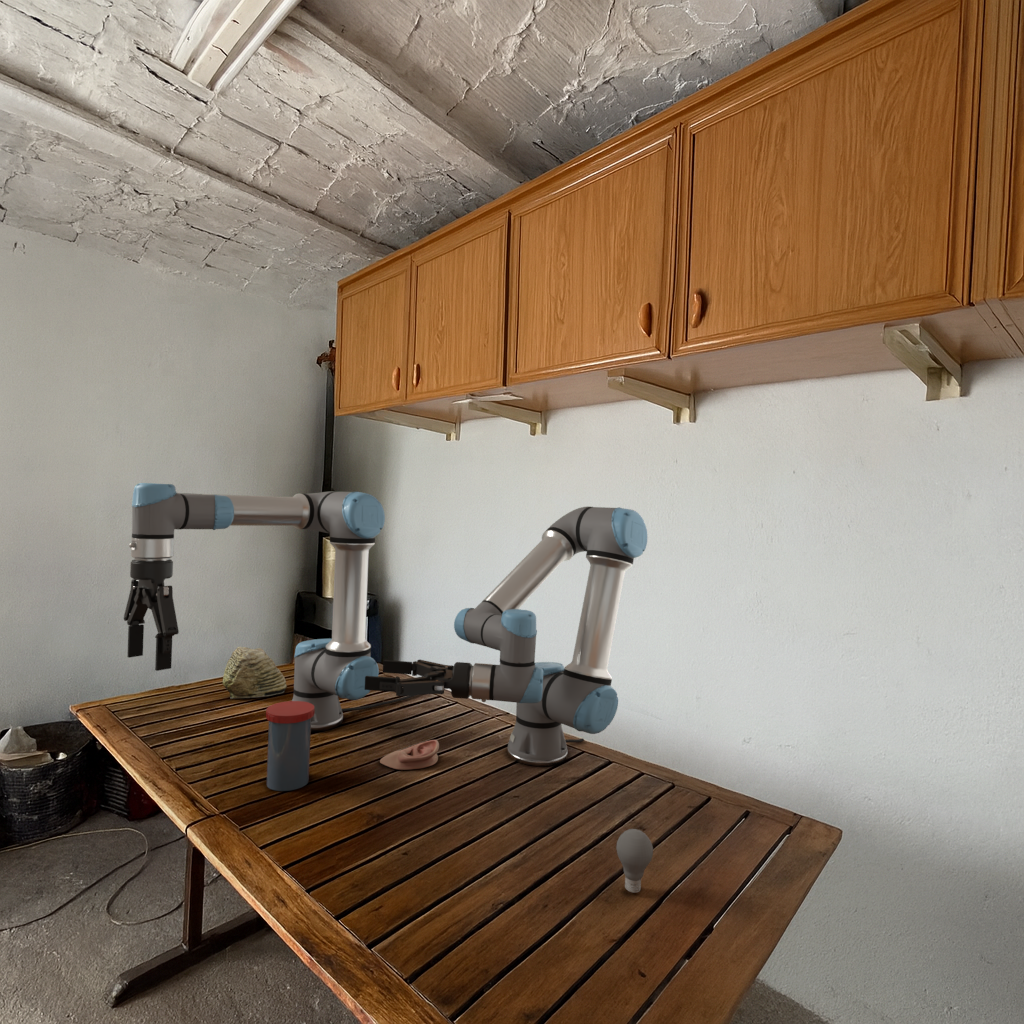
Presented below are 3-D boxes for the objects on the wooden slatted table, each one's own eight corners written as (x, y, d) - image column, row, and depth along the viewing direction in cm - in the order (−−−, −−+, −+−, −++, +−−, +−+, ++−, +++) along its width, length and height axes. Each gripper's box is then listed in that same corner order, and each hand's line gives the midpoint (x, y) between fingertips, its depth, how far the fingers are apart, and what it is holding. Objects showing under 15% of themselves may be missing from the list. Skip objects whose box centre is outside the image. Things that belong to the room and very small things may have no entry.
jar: (288, 794, 134) (291, 719, 134) (257, 785, 138) (260, 712, 137) (317, 778, 142) (320, 707, 142) (287, 770, 146) (289, 701, 145)
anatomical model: (374, 749, 149) (393, 732, 160) (374, 766, 149) (393, 748, 161) (428, 756, 147) (443, 739, 158) (427, 774, 147) (443, 754, 158)
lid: (291, 726, 133) (291, 719, 133) (255, 718, 137) (255, 710, 137) (324, 712, 142) (324, 705, 142) (289, 705, 146) (289, 698, 146)
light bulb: (610, 879, 108) (613, 822, 108) (644, 879, 109) (647, 822, 109) (619, 902, 102) (622, 840, 102) (655, 901, 103) (658, 840, 103)
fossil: (218, 695, 195) (220, 647, 195) (278, 685, 208) (279, 640, 207) (228, 703, 189) (230, 653, 188) (289, 692, 201) (290, 645, 201)
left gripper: (108, 554, 134) (104, 654, 134) (159, 565, 118) (155, 678, 119) (146, 552, 140) (143, 648, 140) (199, 563, 124) (195, 671, 124)
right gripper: (461, 717, 124) (355, 709, 125) (477, 682, 149) (389, 675, 150) (463, 679, 124) (357, 671, 125) (479, 650, 149) (390, 644, 150)
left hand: (148, 662), depth 129 cm, fingers open, 13 cm apart
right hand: (374, 674), depth 138 cm, fingers open, 13 cm apart
